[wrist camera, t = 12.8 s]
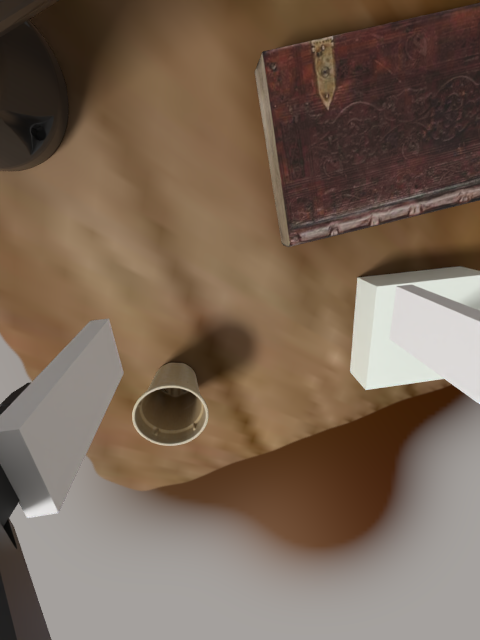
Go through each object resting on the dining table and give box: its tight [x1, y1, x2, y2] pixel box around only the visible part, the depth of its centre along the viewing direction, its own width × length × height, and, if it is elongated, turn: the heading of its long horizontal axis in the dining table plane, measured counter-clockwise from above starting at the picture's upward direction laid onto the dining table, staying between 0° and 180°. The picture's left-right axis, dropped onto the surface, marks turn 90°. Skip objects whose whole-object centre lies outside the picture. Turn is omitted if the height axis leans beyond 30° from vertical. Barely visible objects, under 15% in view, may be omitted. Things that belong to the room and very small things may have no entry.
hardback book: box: [255, 3, 480, 247], centre depth 34 cm, size 29×19×5 cm, turn 103°
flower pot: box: [132, 363, 208, 446], centre depth 40 cm, size 9×9×9 cm
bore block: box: [350, 266, 480, 390], centre depth 43 cm, size 16×16×5 cm
